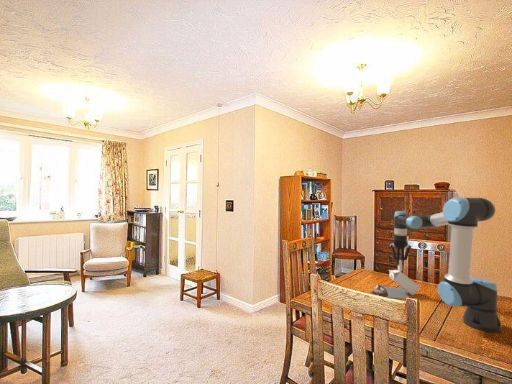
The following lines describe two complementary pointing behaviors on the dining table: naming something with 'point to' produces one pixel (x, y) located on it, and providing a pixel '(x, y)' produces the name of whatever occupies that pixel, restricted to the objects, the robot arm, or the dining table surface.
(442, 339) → the dining table surface
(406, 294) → the mat
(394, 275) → the milk carton
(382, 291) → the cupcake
